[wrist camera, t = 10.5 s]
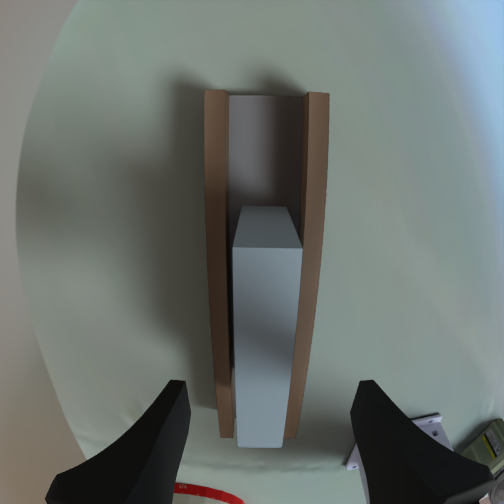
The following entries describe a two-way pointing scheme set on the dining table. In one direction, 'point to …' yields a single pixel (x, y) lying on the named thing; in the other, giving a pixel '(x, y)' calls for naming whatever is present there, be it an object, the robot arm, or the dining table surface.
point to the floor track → (263, 194)
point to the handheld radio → (488, 446)
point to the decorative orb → (497, 487)
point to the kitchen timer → (202, 495)
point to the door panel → (264, 321)
